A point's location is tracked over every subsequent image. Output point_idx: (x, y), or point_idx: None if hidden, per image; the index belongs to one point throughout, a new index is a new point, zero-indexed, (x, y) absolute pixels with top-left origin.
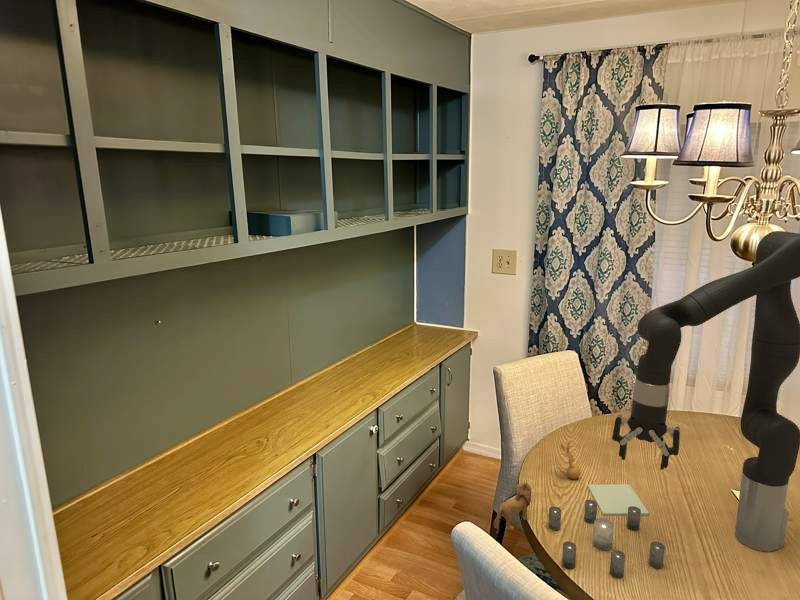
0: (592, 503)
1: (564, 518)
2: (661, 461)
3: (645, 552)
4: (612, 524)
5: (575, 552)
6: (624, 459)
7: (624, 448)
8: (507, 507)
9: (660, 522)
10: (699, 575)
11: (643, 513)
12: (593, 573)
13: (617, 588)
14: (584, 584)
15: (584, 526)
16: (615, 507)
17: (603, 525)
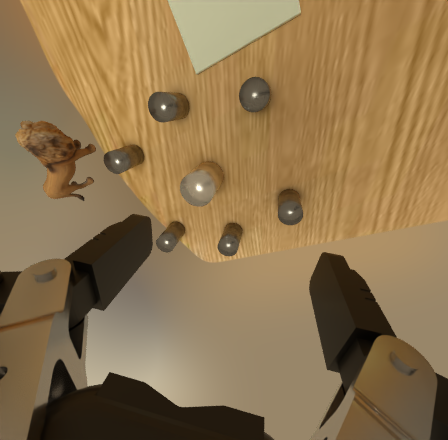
0: (163, 108)
1: (139, 120)
2: (318, 326)
3: (275, 172)
4: (211, 188)
5: (175, 245)
6: (150, 247)
7: (108, 297)
8: (56, 195)
9: (325, 40)
10: (356, 204)
11: (285, 21)
12: (207, 235)
13: None
14: (200, 253)
15: (174, 133)
16: (218, 26)
17: (196, 196)
